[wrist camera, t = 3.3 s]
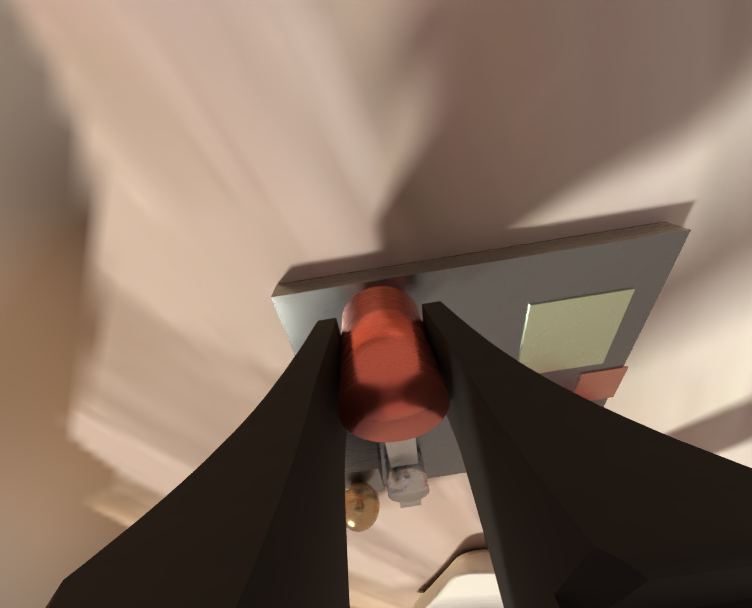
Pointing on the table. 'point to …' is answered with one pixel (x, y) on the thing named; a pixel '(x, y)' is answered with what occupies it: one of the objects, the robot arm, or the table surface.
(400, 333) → the lever
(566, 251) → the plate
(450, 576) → the salad plate
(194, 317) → the table surface
